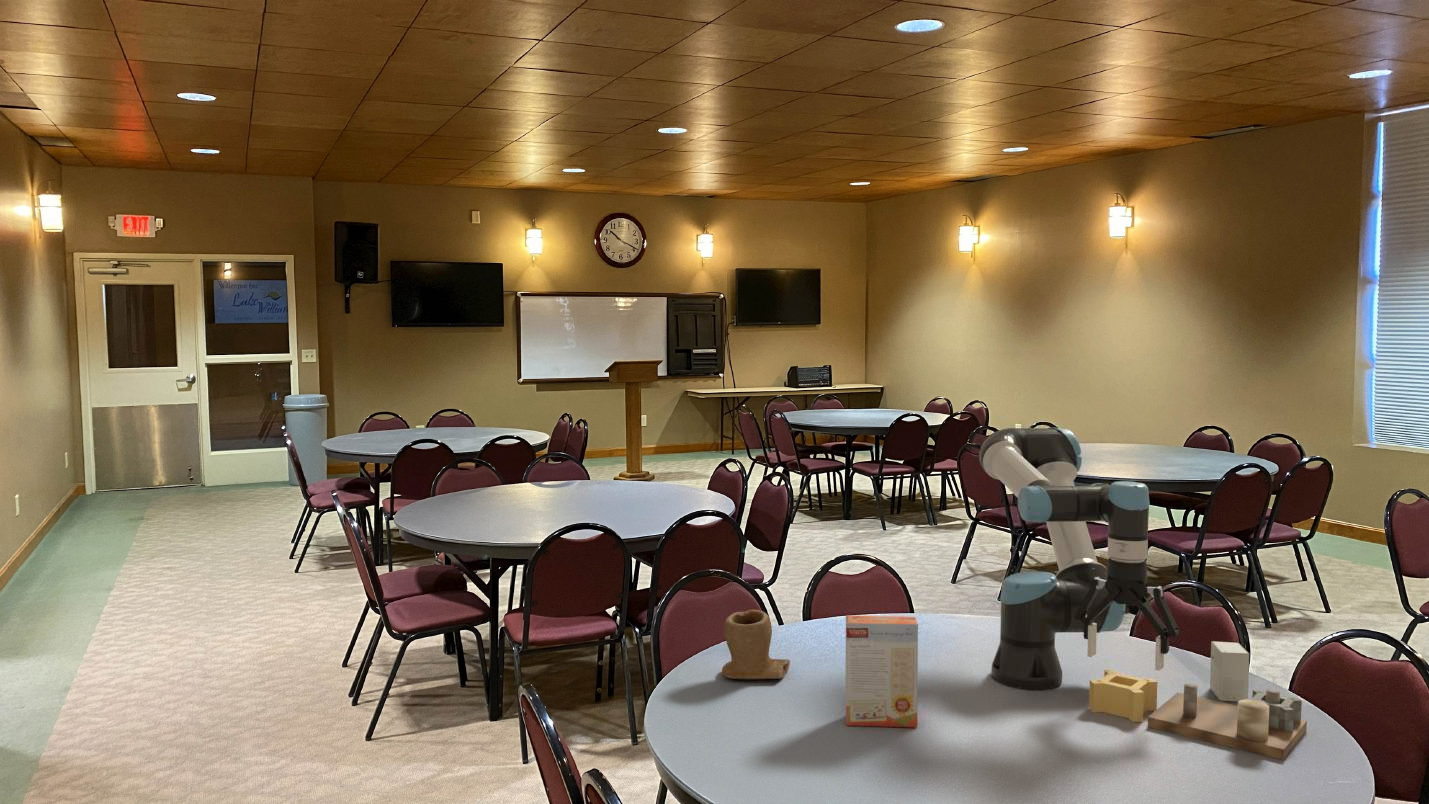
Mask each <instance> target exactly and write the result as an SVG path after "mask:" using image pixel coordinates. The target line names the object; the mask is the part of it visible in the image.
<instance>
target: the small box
mask: <svg viewBox="0 0 1429 804" xmlns="http://www.w3.org/2000/svg"><path fill="white" fill-rule="evenodd" d="M1209 670H1210V671H1209V672H1210V676H1209V677H1210V678H1209V688H1210V690H1211V691H1212V693H1214V696H1216V697H1217V699H1218V700H1219V702H1237V703H1238V701H1240V700H1244V699H1249V679H1250V678H1249V673H1250V672H1249V671H1250V653H1249V652H1248V650H1246V649H1245V648H1244V647H1243V646H1242V645H1241V644H1240V643H1239V642H1228V641H1213V640H1212V641H1211V642H1210V669H1209Z"/></svg>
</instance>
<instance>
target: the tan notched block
mask: <svg viewBox="0 0 1429 804" xmlns="http://www.w3.org/2000/svg"><path fill="white" fill-rule="evenodd" d="M1103 672H1104V673H1103V674H1104V675H1103V677H1102V678H1100V679H1090V680H1089V699H1088V702H1089V703H1088V709H1089V710H1090V711H1091V712H1092V713H1106V714H1109V715H1113V716H1118V717H1121V718H1125V719H1129V720H1130V721H1131V722H1133V723H1143V722H1144V714H1145V713H1146V712H1154V711H1156V710H1157V709H1158V706H1157V704H1158V703H1157V702H1158V681H1157V680H1156V679H1154V678H1141V677H1136V676H1132V675H1127V674H1122V673H1118V672H1117V671H1116V670H1114V669H1109V670H1108V669H1107V670H1105V669H1104V671H1103Z"/></svg>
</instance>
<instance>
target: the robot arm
mask: <svg viewBox="0 0 1429 804" xmlns="http://www.w3.org/2000/svg"><path fill="white" fill-rule="evenodd" d="M1081 453H1082V449H1081V444H1080V443H1079V440H1078V438H1077V436H1076V435H1075V433H1073V432H1072V431H1071V430H1069V428H1068V429H1067V428H1063V427H1053V426H1051V427H1047V428H1045V427H1044V428H1043V427H1042V428H1040V427H1038V428H1037V427H1036V428H1035V427H1025V428H1023V427H1019V428H1017V427H1008V428H1002V429H1000V430H997V431H995V432H994V433H992V434H990V435H989V436H988V437H987V438H986V439H985V440H984V441H983V443H982V444H981V446H980V450H979V454H978V455H979V459H978V460H979V463H980V466H981V467H982V470H983V471H984V472H985V473H986V474H987V475H988V476H989V477H991V478H992V479H994V480H999V481H1000V482H1001V483H1002V484H1003V485H1004V486H1005V487H1006V488H1007V489H1009V491H1010V492H1011V493H1012V494H1013V495H1014V496H1015V497H1016V498H1017V509H1018V512H1019V516H1020V517H1021V519H1022V520H1023V521H1024V522H1029V523H1031V522H1034V523H1038V524H1041V523H1046V526H1047V530H1048V534H1049V537H1050V540H1051V545H1052V548H1053V549H1052V550H1053V551H1054V556H1055V559H1056V563H1057V566H1058V572H1056V575H1055V574H1054V573H1053V572H1049V571H1043V570H1042V571H1038V570H1031V571H1030V570H1028V571H1021V572H1016V573H1013V574H1010V575H1008V576H1007V577H1005V578H1004V579H1003V582H1002V583H1001V592H1000V596H999V600H1000V631H999V632H1000V635H999V636H1000V637H999V644H998V647H997V650H996V653H995V656H994V658H993V661H992V663H991V671H990V672H991V678H992V679H993V680H995V681H996V682H998V683H999V684H1002V685H1006V686H1007V687H1013V688H1017V689H1022V690H1047V689H1048V690H1049V689H1054V688H1057V687H1059V686H1061V685H1062V683H1063V669H1062V666H1061V663H1060V660H1059V656H1058V653H1057V650H1056V647H1055V646H1056V645H1055V643H1056V634H1058V633H1083V638H1084V640H1087V657H1090V658H1091V657H1094V656H1095V655H1097V634H1099V633H1103V632H1104V633H1106V632H1113V631H1116V630H1118V629H1119V628H1120V627H1121V625H1122V623H1123V620H1124V617H1125V614H1126V612H1125V611H1126V606H1129V607H1134V606H1136V608H1137V609H1138V610H1139V611H1141V613H1142V614H1143V615H1144V617H1145V618H1146V619H1147V621H1148V622H1149V623H1150V625H1151V626H1152V628H1153V629H1154V630H1155V632H1156V633H1157V634H1158V636H1156V637H1155V656H1154V657H1155V661H1154V662H1155V663H1154V664H1155V665H1154V667H1155V668H1154V670H1155V671H1159V672H1160V670H1163V669H1164V665H1165V664H1164V662H1165V661H1164V660H1165V658H1164V657H1165V655H1167V654H1168V653H1169V651H1170V638H1174V637H1177V636H1178V635H1179V634H1180V628H1179V626H1178V623H1176V620H1175V618H1174V614H1172V611H1171V609H1170V607H1169V605H1168V603H1167V601H1166V599H1165V591H1164V587H1163V586H1161V585H1158V586H1148V582H1147V581H1148V562H1147V561H1146V560H1147V558H1148V551H1149V550H1148V546H1149V542H1148V540H1149V535H1148V534H1149V516H1150V515H1149V513H1150V509H1149V507H1150V496H1149V495H1150V494H1149V487H1148V486H1147V485H1146V484H1145V483H1142V482H1136V481H1125V480H1123V481H1122V480H1121V481H1114V482H1112V483H1111V484H1109V483H1099V482H1098V483H1097V482H1096V483H1092V484H1090V485H1076V484H1075V479H1076V477H1077V476H1078V472H1079V471H1080V469H1081V468H1082V467H1081V466H1082V459H1083V458H1082V455H1081ZM1087 522H1103V523H1104V522H1105V523H1107V525H1108V529H1107V531H1108V533H1107V556H1109V558H1108V559H1107V561H1106V562H1107V566H1105V565H1104V564H1102V563H1100V562H1098V560H1097V555H1096V552H1095V548H1094V546H1093V543H1092V539H1091V536H1090V533H1089V529H1088V526H1087ZM1148 594H1149V595H1150V597H1151V598H1152V599H1153V600H1154V601H1153V602H1154V603H1155V605H1156V608H1157V610H1158V612H1159V614H1160V616H1161V618H1160V616H1158V613H1156V611H1155V610H1154V609H1153V607H1152V605H1151V604H1150V602H1149V600H1148V599H1147V598H1146V597H1147V595H1148Z"/></svg>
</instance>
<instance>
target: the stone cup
mask: <svg viewBox="0 0 1429 804" xmlns="http://www.w3.org/2000/svg"><path fill="white" fill-rule="evenodd" d="M723 626H724V638H725V642H726V644H727V647H728V651H729V653H730V657H731V658H730V659H731V660H729V661H728V662H726V663H725V664H724V665H723V667H722V668H721V673H722V675H723V676H724V677H726V678H727V679H730V680H731V679H733V680H773V679H777V680H778V679H784V678H785V677H786V675H787V674H788V672H789V670H790V669H789V668H790V665H791V659H785V658H784V659H782V658H781V659H776V658H771V657H770V647H771V643H772V642H771V641H772V635H773V625H772V621H771V618H770V616H769V615H768V614H767V613H766V612H765V611H762V610H759V609H748V610H746V611H737V612H736V611H735V612H733V613H732V614H730V615H729V616H728V617H727V618H726V619H725V620H724V625H723Z"/></svg>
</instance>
